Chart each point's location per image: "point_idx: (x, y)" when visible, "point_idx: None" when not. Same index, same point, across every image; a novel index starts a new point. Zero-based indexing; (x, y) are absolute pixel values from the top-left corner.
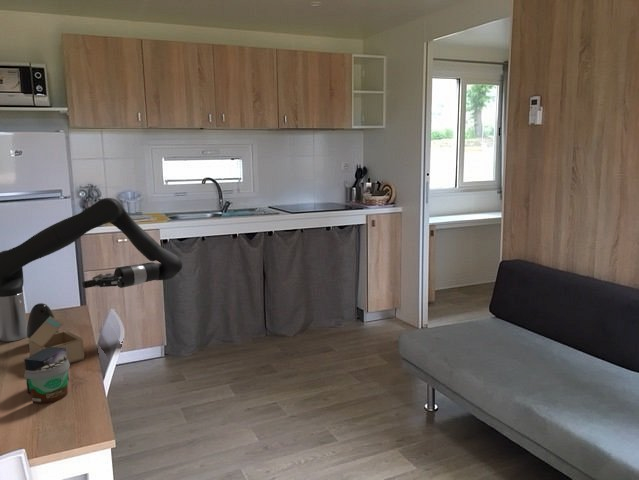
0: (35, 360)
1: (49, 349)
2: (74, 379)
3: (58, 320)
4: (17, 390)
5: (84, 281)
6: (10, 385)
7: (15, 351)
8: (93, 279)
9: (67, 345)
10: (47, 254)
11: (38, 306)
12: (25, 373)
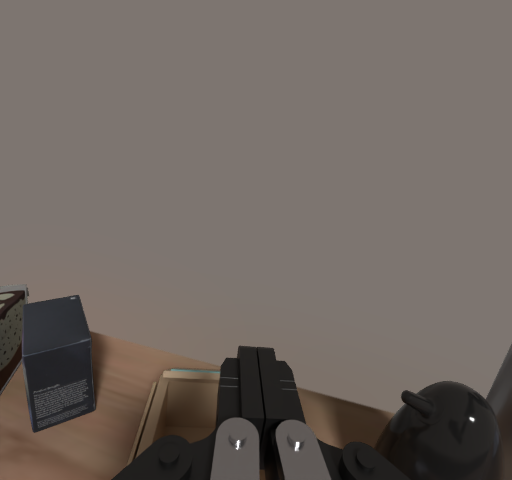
0: (44, 301)
1: (64, 330)
2: (14, 443)
3: (207, 373)
4: (117, 353)
5: (262, 351)
6: (154, 354)
7: (369, 424)
8: (284, 424)
9: (137, 435)
10: None
11: (442, 387)
12: (24, 288)
